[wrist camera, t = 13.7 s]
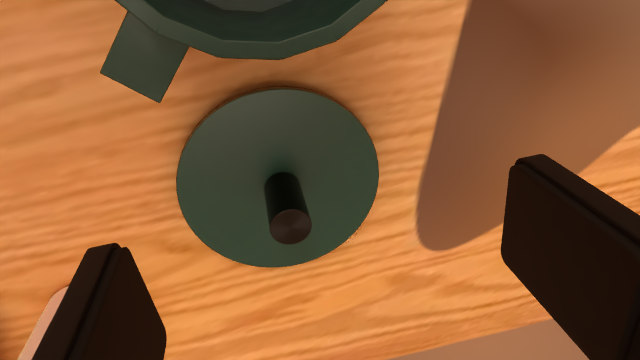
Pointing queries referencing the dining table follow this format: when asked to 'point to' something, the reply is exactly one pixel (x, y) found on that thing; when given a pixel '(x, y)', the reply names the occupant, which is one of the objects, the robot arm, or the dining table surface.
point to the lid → (277, 177)
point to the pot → (221, 34)
